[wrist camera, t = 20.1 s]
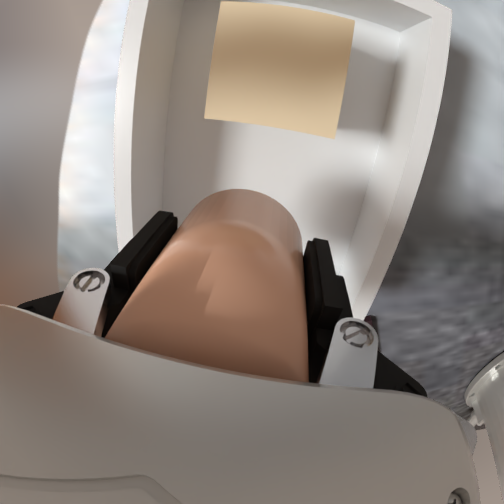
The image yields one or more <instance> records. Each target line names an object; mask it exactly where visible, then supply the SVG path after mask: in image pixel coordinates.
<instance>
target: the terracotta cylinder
mask: <svg viewBox="0 0 504 504" xmlns="http://www.w3.org/2000/svg"><path fill="white" fill-rule="evenodd" d="M105 338H106V339H109V340H112V341H115V342H118V343H121V344H125V345H128V346H131V347H135V348H138V349H142V350H145V351H149V352H153V353H156V354H160V355H164V356H168V357H172V358H176V359H180V360H184V361H188V362H192V363H197V364H201V365H206V366H210V367H215V368H220V369H225V370H230V371H236V372H241V373H247V374H252V375H258V376H264V377H271V378H278V379H285V380H292V381H300V382H309V366H308V333H307V310H306V291H305V274H304V259H303V246H302V237H301V233H300V230H299V227H298V225H297V223H296V221H295V219H294V218H293V216H292V215H291V214H290V213H289V211H288V210H287V209H286V208H285V207H284V206H283V205H282V204H280V203H279V202H277V201H276V200H275V199H273V198H271V197H269V196H267V195H265V194H263V193H260V192H257V191H253V190H247V189H229V190H223V191H219V192H216V193H214V194H211V195H209V196H207V197H206V198H204V199H203V200H201V201H200V202H199V203H198V204H197V205H196V206H195V207H194V208H193V209H192V210H191V212H190V213H189V214H188V216H187V217H186V218H185V220H184V221H183V222H182V224H181V225H180V226H179V228H178V229H177V230H176V232H175V233H174V235H173V236H172V237H171V239H170V240H169V241H168V243H167V244H166V246H165V247H164V248H163V250H162V251H161V253H160V254H159V256H158V257H157V258H156V260H155V261H154V263H153V264H152V266H151V267H150V268H149V270H148V271H147V273H146V274H145V276H144V277H143V279H142V280H141V282H140V283H139V285H138V286H137V288H136V289H135V291H134V292H133V294H132V295H131V297H130V298H129V300H128V301H127V303H126V305H125V306H124V308H123V309H122V311H121V312H120V314H119V315H118V317H117V319H116V320H115V322H114V323H113V325H112V327H111V328H110V330H109V331H108V333H107V335H106V336H105Z"/></svg>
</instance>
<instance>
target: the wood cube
mask: <svg viewBox="0 0 504 504" xmlns="http://www.w3.org/2000/svg"><path fill="white" fill-rule="evenodd" d="M354 25H355V20H352V19H348V18H344V17H340V16H336V15H332V14H327V13H323V12H318V11H313V10H307V9H302V8H295V7H289V6H282V5H273V4H264V3H252V2H236V1H221V4H220V10H219V15H218V21H217V27H216V33H215V39H214V46H213V53H212V59H211V67H210V74H209V81H208V89H207V98H206V106H205V115H204V118H205V119H215V120H225V121H233V122H241V123H249V124H256V125H262V126H269V127H275V128H281V129H286V130H292V131H297V132H302V133H307V134H312V135H317V136H322V137H326V138H331V139H335V135H336V130H337V125H338V120H339V115H340V110H341V104H342V99H343V94H344V88H345V82H346V77H347V71H348V65H349V59H350V52H351V46H352V39H353V32H354Z"/></svg>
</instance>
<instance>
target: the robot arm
mask: <svg viewBox="0 0 504 504" xmlns="http://www.w3.org/2000/svg"><path fill="white" fill-rule="evenodd" d="M177 229H178V218H177V217H175V216H174V214H173V212H167V211H160V210H159V211H158V212H157V213H156V214H155V215H154V216H153V217H152V218H151V219H150V220H149V221H148V222H147V223H146V224H145V226H144V227H143V228H142V229H141V230H140V231H139V232H138V233H137V234H136V235H135V236H134V237H133V238H132V239H131V240H130V241H129V242H128V243H127V244H126V245H125V246H124V248H123V249H122V250H121V251H120V252H119V253H118V254H117V256H116V257H115V258H114V259H113V260H112V261H111V262H110V264H109V265H108V266H107V267H106V268H105V269H104V270H102V269H99V268H87V269H83V270H81V271H78V272H77V273H75V274H74V275H73V276H72V277H71V279H70V280H69V283H68V285H67V287H66V289H65V291H63V292H59V293H56V294H53V295H49V296H46V297H43V298H39V299H35V300H32V301H28V302H25V303H23V304H20V305H19V306H17V307H13V306H8V305H0V504H480V495H479V487H478V480H477V476H476V470H475V466H474V461H473V457H472V455H473V452H474V449H475V446H476V442H477V433H476V430H475V428H474V426H475V425H476V424H477V425H478V426H481V425H482V424H483V423H485V426H486V430H487V433H488V436H489V440H490V444H491V447H492V452H493V456H494V460H495V464H496V469H497V474H498V479H499V484H500V489H501V495H502V500H503V502H504V352H503V353H502V354H500V355H499V356H498V357H496V358H495V359H494V360H492V361H491V362H490V363H489V364H488V365H487V366H485V367H484V368H483V369H482V370H481V371H480V372H479V373H478V374H477V375H476V376H475V378H474V379H473V380H472V381H471V383H470V384H469V386H468V387H467V389H466V392H465V396H464V397H465V401H466V404H467V405H468V406H470V407H473V409H474V410H473V411H472V413H471V416H470V417H468V418H467V419H466V420H465V419H463V418H462V417H460V416H458V415H457V414H455V413H454V412H453V411H452V410H451V409H450V408H448V407H447V406H445V405H444V404H442V403H440V402H438V401H435V400H434V399H430V398H428V397H427V393H426V391H425V390H424V388H423V387H422V386H421V385H420V384H419V383H418V382H417V381H416V380H414V379H413V378H412V377H411V376H409V375H408V374H407V373H405V372H404V371H403V370H402V369H400V368H399V367H398V366H397V365H395V364H394V363H393V362H391V361H390V360H389V359H388V358H386V357H385V356H384V355H383V354H381V353H380V352H379V351H377V350H378V335H377V333H376V331H375V330H374V328H373V327H372V326H371V325H369V324H368V323H367V322H365V321H363V320H361V319H357V318H353V314H352V310H351V305H350V301H349V297H348V292H347V288H346V284H345V280H344V277H343V276H340V275H336V272H335V267H334V263H333V259H332V254H331V250H330V246H329V242H328V240H324V239H319V238H313V240H312V241H310V240H308V241H307V244H306V248H305V251H304V255H303V259H304V274H305V291H306V310H307V333H308V366H309V382H300V381H292V380H285V379H278V378H271V377H264V376H258V375H252V374H247V373H241V372H236V371H230V370H225V369H220V368H215V367H210V366H206V365H201V364H197V363H192V362H188V361H184V360H180V359H176V358H172V357H168V356H164V355H160V354H156V353H153V352H149V351H145V350H142V349H138V348H135V347H131V346H128V345H125V344H121V343H118V342H115V341H112V340H109V339H106V338H105V336H106V335H107V333H108V331H109V330H110V328H111V327H112V325H113V323H114V322H115V320H116V319H117V317H118V315H119V314H120V312H121V311H122V309H123V308H124V306H125V305H126V303H127V301H128V300H129V298H130V297H131V295H132V294H133V292H134V291H135V289H136V288H137V286H138V285H139V283H140V282H141V280H142V279H143V277H144V276H145V274H146V273H147V271H148V270H149V268H150V267H151V266H152V264H153V263H154V261H155V260H156V258H157V257H158V256H159V254H160V253H161V251H162V250H163V248H164V247H165V246H166V244H167V243H168V241H169V240H170V239H171V237H172V236H173V235H174V233H175V232H176V230H177Z"/></svg>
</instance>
